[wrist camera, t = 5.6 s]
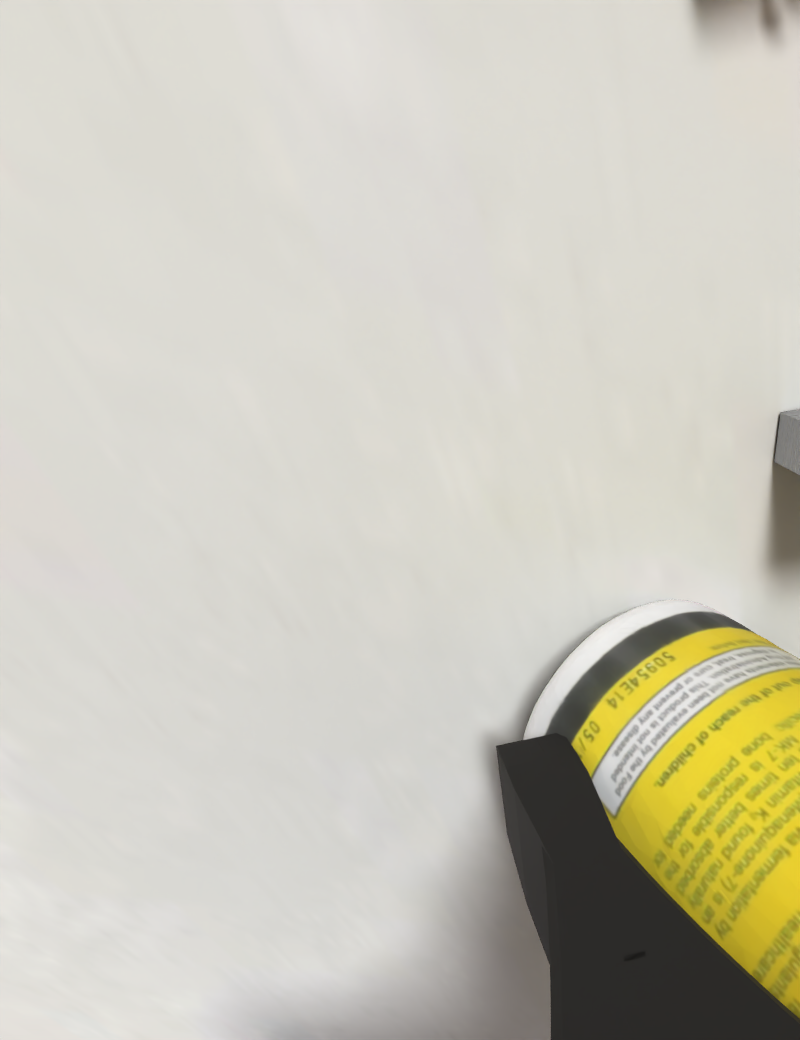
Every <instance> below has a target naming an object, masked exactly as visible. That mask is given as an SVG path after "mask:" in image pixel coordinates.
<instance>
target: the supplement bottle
mask: <svg viewBox="0 0 800 1040" xmlns="http://www.w3.org/2000/svg"><path fill="white" fill-rule="evenodd" d="M554 733H557V734H560V735H562V736H565V737H567V739H568V740H569V742H570V743H571V745H572V746H573V748H574V749H575V751H576V752H577V754H578V756H579V757H580V759H581V761H582V762H583V764H584V766H585V767H586V769H587V771H588V772H589V775H590V777H591V779H592V781H593V784H594V786H595V788H596V791H597V793H598V795H599V798H600V800H601V802H602V805H603V807H604V809H605V811H606V814H607V816H608V818H609V821H610V823H611V826H612V828H613V830H614V833H615V835H616V837H617V838H618V839H619V840H620V841H621V843H622V844H623V845H624V846H625V847H626V848H627V849H628V850H629V852H630V853H631V854H632V855H633V856H634V857H635V858H636V859H637V861H638V862H639V863H640V864H641V865H642V866H643V867H644V868H645V870H646V871H647V872H648V873H649V874H650V875H651V876H652V877H653V878H654V879H655V880H656V881H657V882H658V883H659V884H660V886H661V887H662V888H663V889H664V890H665V891H666V892H667V893H668V894H669V895H670V896H671V897H672V898H673V899H674V900H675V901H676V902H677V903H678V904H679V905H680V906H681V907H682V908H683V909H684V910H685V911H686V912H687V913H688V914H689V915H690V916H691V917H692V919H693V920H694V921H695V922H696V923H697V924H698V925H699V926H700V927H701V928H702V929H703V930H704V931H705V932H707V933H708V934H709V935H710V936H711V937H712V938H713V939H714V940H715V941H716V942H717V943H718V944H719V945H720V946H721V947H722V948H723V949H724V950H725V951H726V952H727V953H728V954H729V955H730V956H731V957H732V958H733V959H734V960H735V961H736V962H738V963H739V964H740V965H741V966H742V967H743V968H744V969H745V970H746V971H747V972H748V973H749V974H751V975H752V976H753V977H754V978H755V979H756V980H757V981H758V982H759V983H760V984H761V985H763V986H764V987H765V988H766V989H767V990H768V991H769V992H770V993H771V994H772V995H773V996H774V997H776V998H777V999H778V1000H779V1001H780V1002H781V1003H782V1004H783V1005H785V1006H786V1007H787V1008H788V1009H789V1010H790V1011H791V1012H793V1013H794V1014H795V1015H796V1016H797V1017H798V1018H799V1019H800V659H798V658H797V657H795V656H793V655H792V654H790V653H788V652H786V651H784V650H783V649H781V648H779V647H777V646H776V645H774V644H773V643H771V642H770V641H768V640H767V639H765V638H763V637H761V636H759V635H757V634H756V633H754V632H752V631H751V630H749V629H748V628H746V627H744V626H743V625H741V624H739V623H738V622H736V621H734V620H732V619H730V618H729V617H727V616H725V615H724V614H722V613H720V612H718V611H716V610H715V609H712V608H710V607H707V606H705V605H703V604H700V603H696V602H691V601H686V600H663V601H657V602H652V603H648V604H645V605H642V606H639V607H636V608H634V609H631V610H629V611H627V612H625V613H623V614H621V615H619V616H617V617H615V618H613V619H612V620H610V621H609V622H607V623H605V624H604V625H602V626H601V627H600V628H598V629H597V630H596V631H594V632H593V633H592V634H591V635H590V636H589V637H587V638H586V639H585V640H584V641H583V642H582V643H581V644H580V645H579V646H578V647H577V648H576V649H575V650H574V651H573V652H572V653H571V654H570V655H569V656H568V657H567V658H566V660H565V661H564V662H563V663H562V665H561V666H560V667H559V668H558V670H557V671H556V672H555V674H554V675H553V677H552V678H551V679H550V681H549V682H548V684H547V685H546V687H545V688H544V690H543V692H542V694H541V695H540V697H539V699H538V701H537V703H536V705H535V707H534V708H533V711H532V713H531V716H530V719H529V721H528V724H527V727H526V730H525V733H524V738H523V740H526V739H531V738H536V737H540V736H545V735H549V734H554Z"/></svg>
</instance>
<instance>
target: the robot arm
mask: <svg viewBox="0 0 800 1040" xmlns="http://www.w3.org/2000/svg"><path fill="white" fill-rule="evenodd" d="M496 748H497V756H498V764H499V772H500V780H501V788H502V795H503V803H504V811H505V819H506V827H507V835H508V838H509V842H510V845H511V849H512V853H513V856H514V860H515V863H516V867H517V871H518V874H519V878H520V881H521V885H522V888H523V892H524V895H525V899H526V902H527V905H528V908H529V911H530V913H531V916H532V919H533V921H534V924H535V927H536V929H537V932H538V935H539V937H540V940H541V942H542V945H543V948H544V950H545V953H546V956H547V958H548V961H549V964H550V979H551V1040H800V1019H799V1018H798V1017H797V1016H796V1015H795V1014H794V1013H793V1012H791V1011H790V1010H789V1009H788V1008H787V1007H786V1006H785V1005H783V1004H782V1003H781V1002H780V1001H779V1000H778V999H777V998H776V997H774V996H773V995H772V994H771V993H770V992H769V991H768V990H767V989H766V988H765V987H764V986H763V985H761V984H760V983H759V982H758V981H757V980H756V979H755V978H754V977H753V976H752V975H751V974H749V973H748V972H747V971H746V970H745V969H744V968H743V967H742V966H741V965H740V964H739V963H738V962H736V961H735V960H734V959H733V958H732V957H731V956H730V955H729V954H728V953H727V952H726V951H725V950H724V949H723V948H722V947H721V946H720V945H719V944H718V943H717V942H716V941H715V940H714V939H713V938H712V937H711V936H710V935H709V934H708V933H707V932H705V931H704V930H703V929H702V928H701V927H700V926H699V925H698V924H697V923H696V922H695V921H694V920H693V919H692V917H691V916H690V915H689V914H688V913H687V912H686V911H685V910H684V909H683V908H682V907H681V906H680V905H679V904H678V903H677V902H676V901H675V900H674V899H673V898H672V897H671V896H670V895H669V894H668V893H667V892H666V891H665V890H664V889H663V888H662V887H661V886H660V884H659V883H658V882H657V881H656V880H655V879H654V878H653V877H652V876H651V875H650V874H649V873H648V872H647V871H646V870H645V868H644V867H643V866H642V865H641V864H640V863H639V862H638V861H637V859H636V858H635V857H634V856H633V855H632V854H631V853H630V852H629V850H628V849H627V848H626V847H625V846H624V845H623V844H622V843H621V841H620V840H619V839H618V838H617V837H616V835H615V833H614V830H613V828H612V826H611V823H610V821H609V818H608V816H607V814H606V811H605V809H604V807H603V805H602V802H601V800H600V798H599V795H598V793H597V791H596V788H595V786H594V784H593V781H592V779H591V777H590V775H589V772H588V771H587V769H586V767H585V766H584V764H583V762H582V761H581V759H580V757H579V756H578V754H577V752H576V751H575V749H574V748H573V746H572V745H571V743H570V742H569V740H568V739H567V737H565V736H562V735H560V734H557V733H554V734H549V735H545V736H540V737H536V738H531V739H526V740H522V741H517V742H512V743H508V744H503V745H499V746H496Z"/></svg>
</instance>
